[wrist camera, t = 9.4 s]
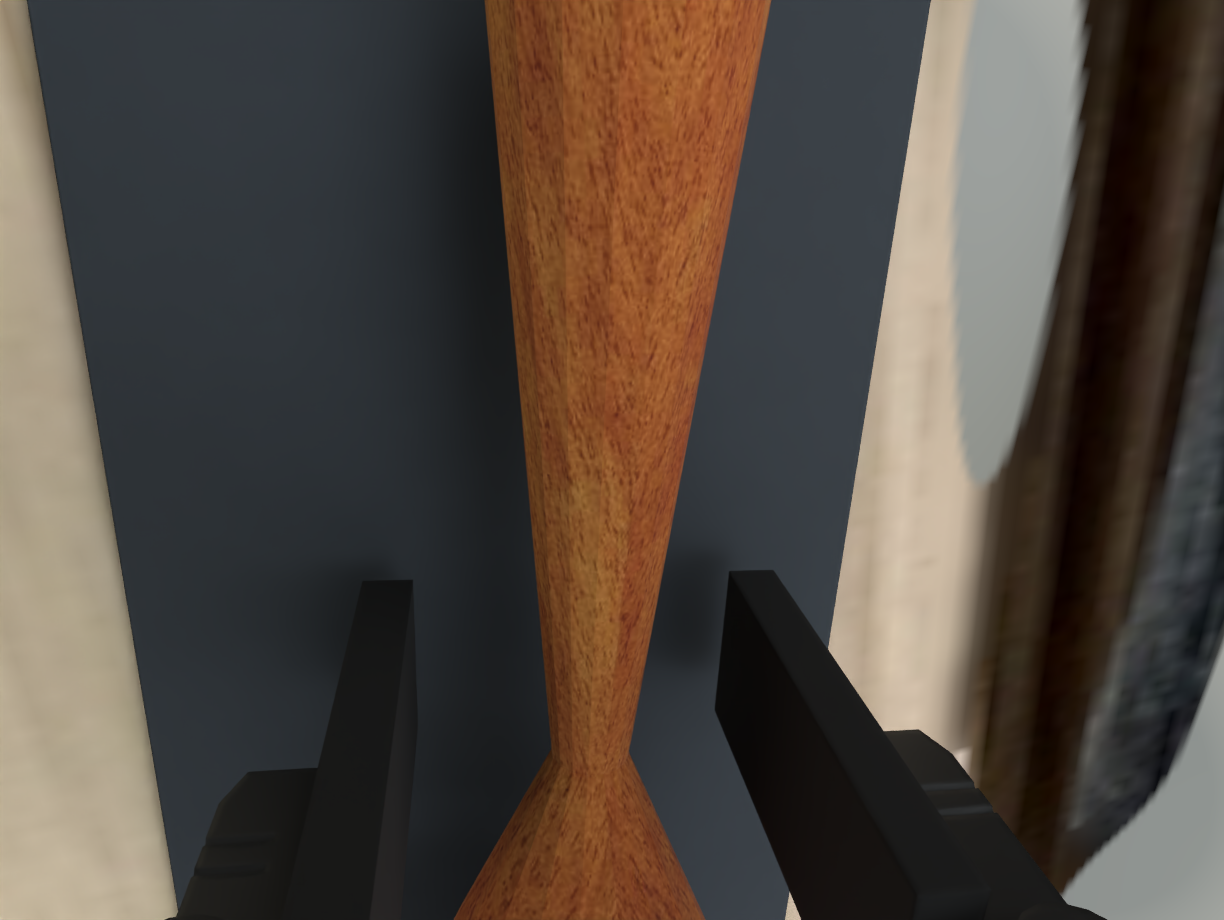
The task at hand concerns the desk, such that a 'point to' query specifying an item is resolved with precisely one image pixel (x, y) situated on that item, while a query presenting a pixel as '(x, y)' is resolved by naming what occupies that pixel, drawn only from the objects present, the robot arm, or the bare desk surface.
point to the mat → (436, 393)
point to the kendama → (607, 396)
